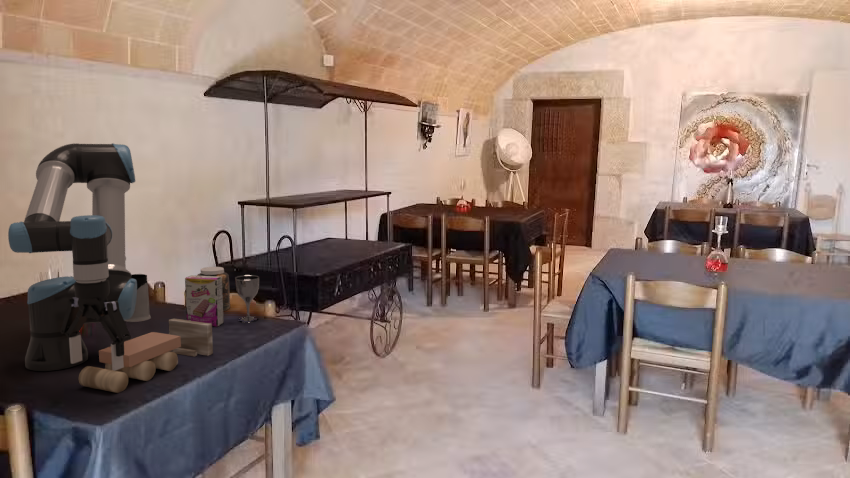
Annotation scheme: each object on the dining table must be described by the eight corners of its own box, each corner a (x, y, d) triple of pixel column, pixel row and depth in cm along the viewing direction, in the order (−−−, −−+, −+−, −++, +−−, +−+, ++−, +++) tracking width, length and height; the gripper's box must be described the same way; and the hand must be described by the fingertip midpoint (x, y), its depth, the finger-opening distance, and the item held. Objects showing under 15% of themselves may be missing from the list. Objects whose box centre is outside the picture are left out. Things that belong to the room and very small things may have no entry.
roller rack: (144, 384, 162) (142, 349, 160) (102, 376, 167) (100, 343, 165) (212, 353, 186) (211, 323, 184) (174, 347, 191) (173, 318, 189)
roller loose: (108, 389, 153) (117, 369, 155) (75, 382, 157) (84, 363, 159) (122, 395, 157) (131, 375, 160) (89, 388, 161) (98, 369, 163)
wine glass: (235, 317, 224) (234, 275, 222) (258, 315, 227) (257, 274, 225) (237, 323, 217) (236, 280, 215) (261, 321, 219) (260, 279, 217)
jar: (191, 312, 231) (190, 271, 228) (203, 304, 242) (202, 265, 240) (224, 312, 230) (222, 272, 228) (234, 304, 242) (233, 266, 240)
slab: (129, 367, 159) (128, 355, 159) (99, 361, 163) (98, 350, 162) (180, 346, 176) (180, 336, 176) (152, 342, 180) (152, 331, 179)
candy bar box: (186, 325, 213) (183, 277, 211) (192, 321, 218) (190, 274, 216) (218, 327, 212) (216, 278, 210) (224, 323, 217) (222, 275, 215)
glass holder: (141, 322, 217) (139, 279, 214) (103, 320, 219) (100, 277, 217) (156, 315, 225) (154, 274, 223) (119, 313, 227) (117, 272, 225)
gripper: (143, 281, 152) (148, 366, 155) (67, 273, 161) (73, 354, 164) (118, 287, 145) (123, 376, 148) (40, 278, 154) (46, 363, 157)
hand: (97, 365), depth 156 cm, fingers open, 13 cm apart
